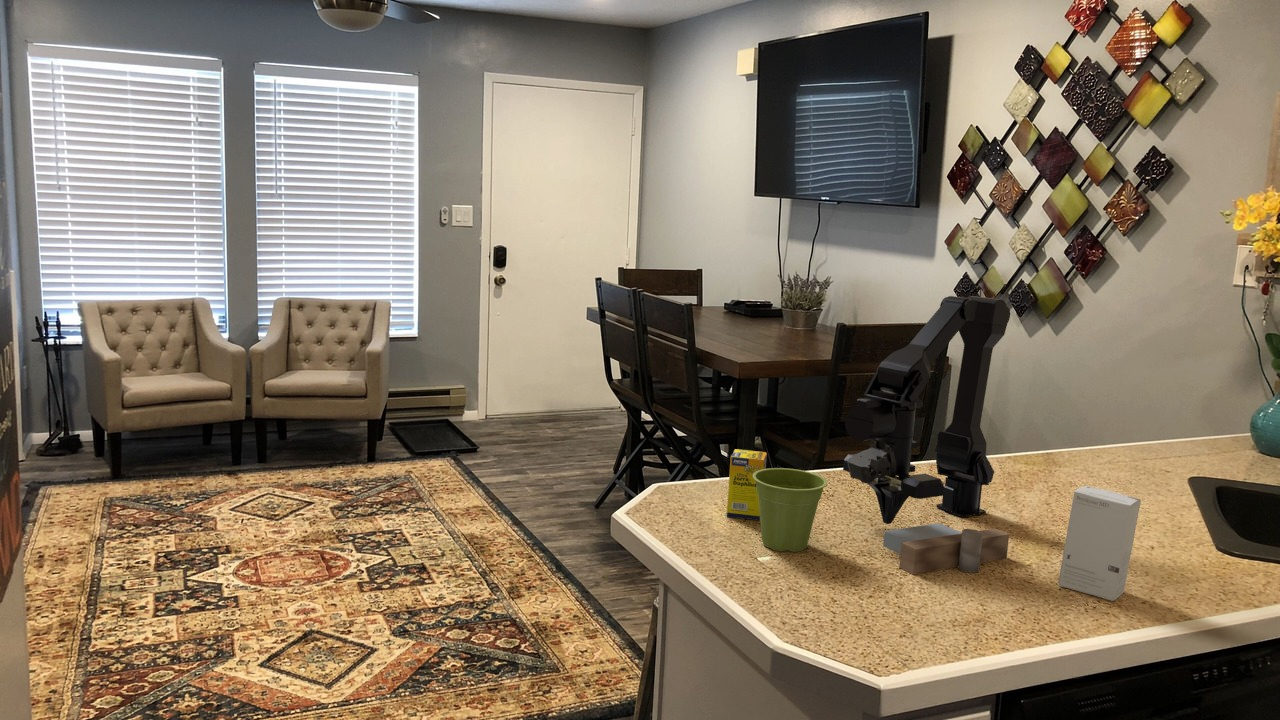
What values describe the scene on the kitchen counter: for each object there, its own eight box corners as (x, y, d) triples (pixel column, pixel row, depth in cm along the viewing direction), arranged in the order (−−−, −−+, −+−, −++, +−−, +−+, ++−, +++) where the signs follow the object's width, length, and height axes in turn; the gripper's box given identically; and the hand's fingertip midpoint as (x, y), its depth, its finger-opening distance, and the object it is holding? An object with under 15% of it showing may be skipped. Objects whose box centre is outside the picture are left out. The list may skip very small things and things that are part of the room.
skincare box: (1057, 586, 148) (1069, 490, 146) (1070, 576, 152) (1081, 483, 150) (1117, 603, 143) (1130, 504, 140) (1128, 592, 147) (1141, 495, 145)
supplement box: (760, 521, 172) (764, 459, 170) (725, 517, 173) (730, 456, 171) (763, 511, 177) (767, 451, 176) (729, 507, 179) (733, 448, 177)
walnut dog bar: (992, 551, 162) (996, 516, 161) (1021, 564, 157) (1025, 528, 156) (899, 567, 152) (902, 530, 151) (927, 581, 147) (931, 542, 146)
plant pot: (739, 550, 156) (743, 481, 155) (758, 529, 167) (763, 464, 166) (813, 563, 152) (819, 493, 150) (828, 540, 163) (834, 474, 161)
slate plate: (937, 539, 168) (938, 523, 167) (973, 555, 161) (975, 538, 160) (882, 548, 162) (884, 531, 162) (917, 565, 155) (919, 547, 155)
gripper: (822, 425, 171) (815, 512, 173) (898, 451, 155) (889, 547, 157) (871, 421, 176) (864, 505, 179) (950, 446, 160) (940, 538, 163)
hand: (887, 523), depth 169 cm, fingers closed
